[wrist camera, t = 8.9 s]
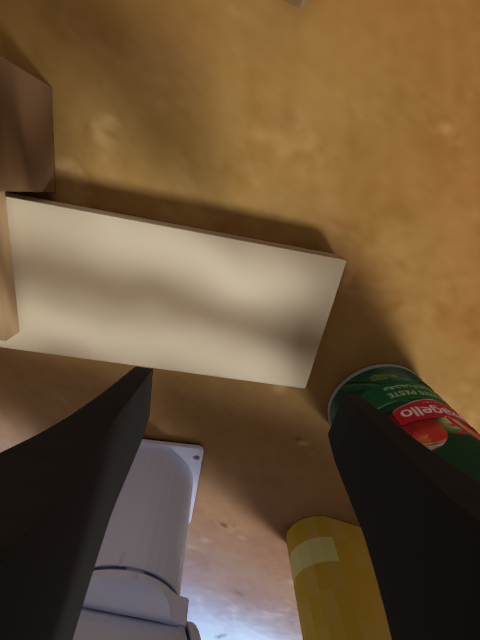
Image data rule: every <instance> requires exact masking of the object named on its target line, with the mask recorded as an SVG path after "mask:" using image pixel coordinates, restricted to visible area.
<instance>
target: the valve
mask: <svg viewBox="0 0 480 640" xmlns="http://www.w3.org/2000/svg"><path fill="white" fill-rule="evenodd" d="M285 1H286V2H288V3H290V4H291V5H294V6H296V7H299V8H301V7H302V6H303V5H304V4H305V2H306V1H307V0H285Z"/></svg>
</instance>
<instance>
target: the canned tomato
mask: <svg viewBox="0 0 480 640" xmlns="http://www.w3.org/2000/svg"><path fill="white" fill-rule="evenodd" d="M343 393H346V394H354V395H359V396H361V397H362V398H364V399H365V400H366V401H368V402H369V403H370V404H372V405H373V406H374V407H376V408H377V409H378V410H379V411H381V412H382V413H383V414H384V415H386V416H387V417H388V418H389V419H391V420H392V421H393V422H394V423H396V424H397V425H398V426H400V427H401V428H402V429H403V430H405V431H406V432H407V433H408V434H410V435H411V436H412V437H414V438H415V439H416V440H418V441H419V442H420V443H422V444H423V445H424V446H426V447H427V448H428V449H430V450H431V451H433V452H434V453H435V454H437V455H438V456H439V457H441V458H442V459H444V460H445V461H447V462H448V463H450V464H451V465H453V466H454V467H456V468H457V469H459V470H460V471H462V472H463V473H465V474H466V475H468V476H470V477H471V478H473V479H474V480H476V481H477V482H479V483H480V435H479V434H478V433H477V431H476V430H475V429H474V428H472V427H471V426H470V425H469V424H468V423H467V422H466V421H465V420H464V419H463V418H462V417H460V416H459V415H458V414H457V413H456V411H455V410H453V409H452V408H451V407H450V406H449V405H448V404H447V403H446V402H445V401H443V400H442V399H441V397H440V396H439V395H438V394H436V393H435V392H434V391H433V390H432V389H431V388H430V387H429V386H428V385H427V384H425V383H424V382H423V381H422V379H421V378H420V377H419V376H418V375H417V374H416V373H415V372H413V371H411V370H410V369H408V368H406V367H403V366H400V365H395V364H377V365H372V366H368V367H365V368H363V369H360V370H358V371H356V372H354V373H353V374H351V375H349V376H348V377H347V378H345V379H344V380H343V381H342V382H341V383H340V384H339V385H338V386H337V387H336V389H335V390H334V392H333V393H332V395H331V397H330V400H329V403H328V409H327V414H328V420H329V423H330V425H332V423H333V420H334V417H335V415H336V412H337V409H338V407H339V404H340V401H341V398H342V396H343Z"/></svg>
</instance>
